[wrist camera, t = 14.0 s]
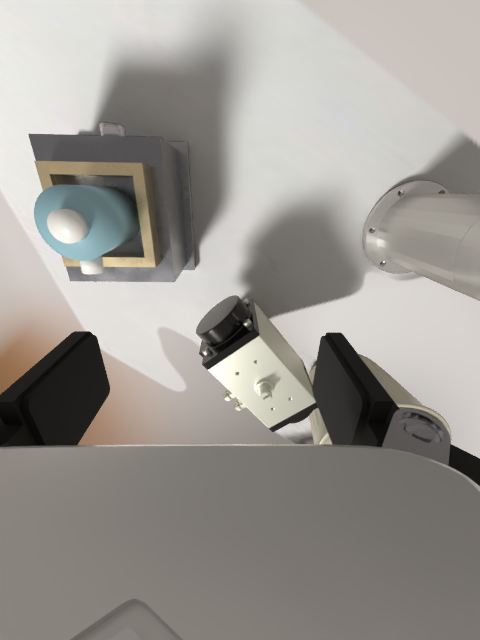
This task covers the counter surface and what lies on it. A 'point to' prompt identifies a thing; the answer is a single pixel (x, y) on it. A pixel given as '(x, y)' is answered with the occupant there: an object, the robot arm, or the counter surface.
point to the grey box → (140, 185)
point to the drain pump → (85, 222)
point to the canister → (392, 388)
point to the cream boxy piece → (255, 363)
